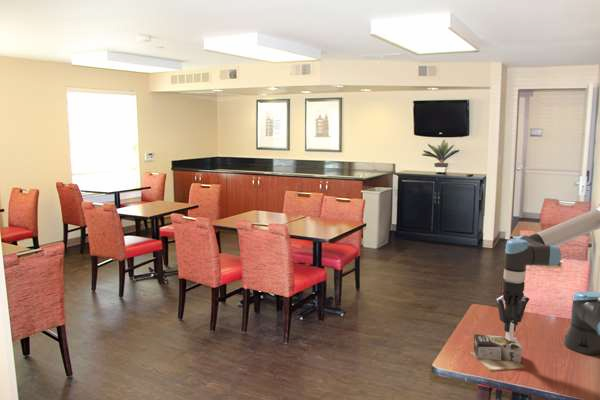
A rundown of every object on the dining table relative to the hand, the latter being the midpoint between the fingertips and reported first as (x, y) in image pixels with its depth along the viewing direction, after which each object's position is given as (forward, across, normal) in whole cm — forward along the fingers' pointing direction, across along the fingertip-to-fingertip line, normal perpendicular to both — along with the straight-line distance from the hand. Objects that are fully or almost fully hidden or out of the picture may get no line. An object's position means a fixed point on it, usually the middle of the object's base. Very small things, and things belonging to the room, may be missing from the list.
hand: (509, 339), depth 193 cm
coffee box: (+5, -5, -1) cm, 7 cm away
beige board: (+9, +4, -1) cm, 10 cm away
